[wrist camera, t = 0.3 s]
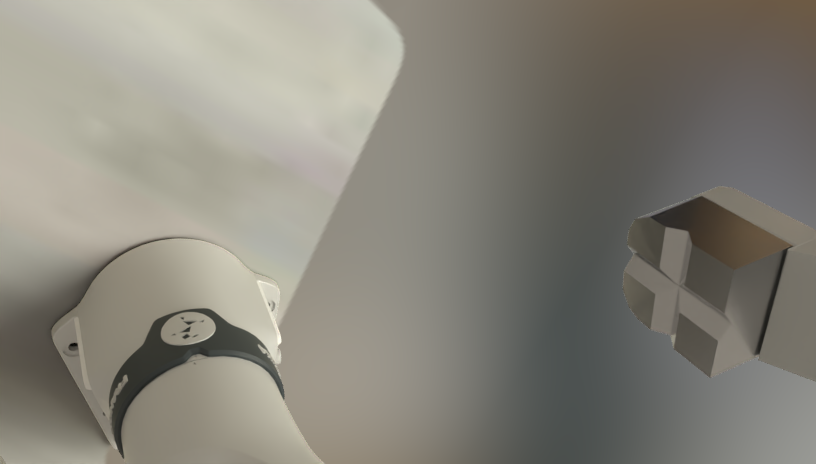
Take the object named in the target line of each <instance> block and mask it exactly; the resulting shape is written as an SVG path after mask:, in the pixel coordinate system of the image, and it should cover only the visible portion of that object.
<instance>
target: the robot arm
mask: <svg viewBox="0 0 816 464" xmlns="http://www.w3.org/2000/svg"><path fill="white" fill-rule="evenodd" d="M627 245H628V247H629V248H630V249H631V251H632V252H633V253H634V255H633V257H632V258H631V260H630V261H629V263H628V265H627V266H626V268H625V270H624V278H623V292H624V294H625V297H626V300H627V303H628V306H629V308H630V309H631V311H632V312H633V313H634V315H635V316H636V317H637V319H638V320H639V321H641V322H642V323H643V324H644V325H645V326H647V327H648V328H649V329H650V330H653V331H657V332H660V333H664V334H667V335H671V340H672V344H673V348H674V349H675V350H676V351H677V352H678V353H680V354H681V355H682V356H683V357H685V358H686V359H687V360H688V361H689V362H691V363H692V364H693V365H695V366H696V367H697V368H698V369H700V370H701V371H702V372H703V373H705V374H706V375H707V376H708V377H709V378H711V377H714V376H716V375H718V374H721V373H723V372H725V371H727V370H730V369H732V368H734V367H736V366H739V365H741V364H743V363H745V362H748V361H750V360H752V359H754V358H757V357H759V359H758V360H759V361H762V362H765V363H767V364H770V365H773V366H775V367H778V368H781V369H783V370H786V371H789V372H792V373H794V374H797V375H800V376H802V377H805V378H807V379H810V380H813V381H815V382H816V230H814V229H813V228H811V227H808V226H806V225H805V224H803V223H801V222H799V221H797V220H795V219H793V218H791V217H789V216H787V215H785V214H783V213H781V212H779V211H777V210H775V209H773V208H771V207H769V206H767V205H766V204H764V203H762V202H760V201H757V200H756V199H754V198H752V197H750V196H748V195H746V194H744V193H742V192H740V191H738V190H736V189H734V188H730V187H722V186H719V187H716V188H714V189H711V190H709V191H706V192H704V193H701V194H698V195H696V196H693V197H692V198H690V199H688V200H685V201H682V202H679V203H677V204H674V205H672V206H668V207H666V208H663V209H660V210H658V211H655V212H652V213H650V214H647V215H644V216H642V217H639V218H636V219H635V220H634V222H633V224H632V225H631V227H630V229H629V233H628V241H627ZM279 299H280V290H279V287H278V285H277V283H276V282H275V281H274V280H272V279H270V278H268V277H265V276H262V275H260V274H257V273H253V272H252V271H250V270H249V269H248V268H247V267H245V266H244V265H243V264H242V262H241V261H239V260H238V259H237V258H236V257H235V256H234V255H233V254H231V253H230V252H228V251H227V250H225V249H223V248H221V247H219V246H217V245H215V244H212V243H209V242H205V241H201V240H195V239H183V238H179V239H166V240H160V241H155V242H151V243H148V244H144V245H142V246H139V247H136V248H134V249H132V250H130V251H128V252H126V253H124V254H123V255H121V256H119V257H118V258H116V259H115V260H114V261H112V262H111V263H110V264H109V265H107V266H106V267H105V268H104V269H103V270H102V271H101V272H100V273H99V274H98V275H97V277H96V278H95V279H94V281H93V282H92V284H91V285H90V287H89V288H88V290H87V292H86V294H85V295H84V297H83V299H82V300H81V302H80V303H79V304H78V306H77V307H75V308H74V309H73V310H71V311H70V312H69V313H67V314H66V315H65V316H63V317H62V318H61V319H60V320H59V321H58V322H57V323H56V324H55V325H54V326H53V328H52V330H51V335H52V339H53V343H54V345H55V346H56V348H57V350H58V352H59V354H60V355H61V357H62V359H63V361H64V363H65V364H66V366H67V368H68V370H69V371H70V373H71V375H72V377H73V379H74V380H75V382H76V384H77V386H78V387H79V389H80V391H81V393H82V395H83V396H84V398H85V400H86V402H87V403H88V405H89V407H90V409H91V411H92V412H93V414H94V416H95V418H96V419H97V421H98V423H99V425H100V427H101V428H102V430H103V432H104V434H105V435H106V437H107V439H108V441H109V442H110V444H111V446H112V447H113V448H114V449H116V450H119V452H120V454H121V455H122V457H123V458H124V460H125V464H325V463H324V462H322V461H321V460H320V459H319V458H318V457H317V456H316V455H315V454H314V452H313V451H312V450H311V448H310V447H309V446H308V444H307V442H306V441H305V439H304V437H303V436H302V434H301V432H300V431H299V429H298V427H297V425H296V423H295V422H294V420H293V418H292V416H291V414H290V412H289V410H288V408H287V407H286V404H285V402H284V389H283V385H282V382H281V379H280V377H281V376H280V373H279V370H278V368H277V364H280V362H281V352H280V350H279V349H278V345H279V344H280V343H281V336H280V332H279V330H278V327H277V325H276V322H275V321H276V315H277V310H278V305H279ZM71 343H78V345H76V346H70V344H71ZM0 464H6V463H5V461H4V460H3V458H2V457H1V456H0Z"/></svg>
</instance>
